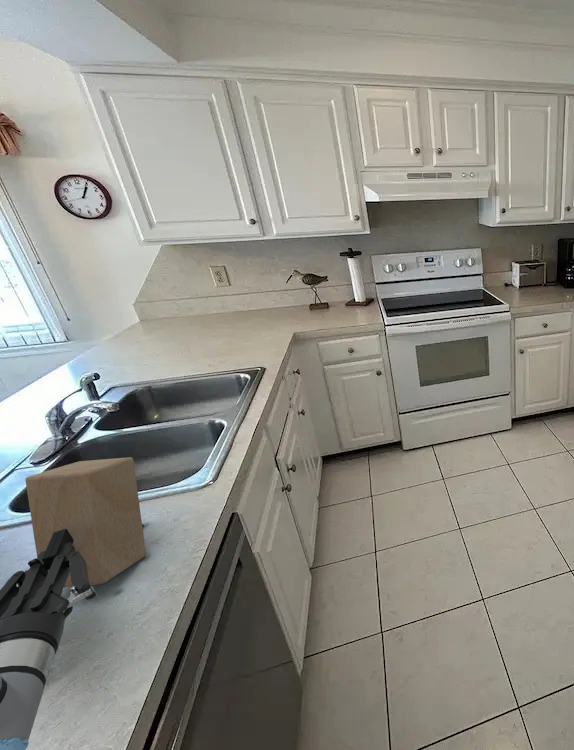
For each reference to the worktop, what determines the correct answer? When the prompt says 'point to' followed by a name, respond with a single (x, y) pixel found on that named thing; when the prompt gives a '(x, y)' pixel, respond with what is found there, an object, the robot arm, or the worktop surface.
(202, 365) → the worktop surface
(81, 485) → the wooden block
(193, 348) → the worktop surface
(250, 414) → the worktop surface
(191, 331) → the worktop surface
